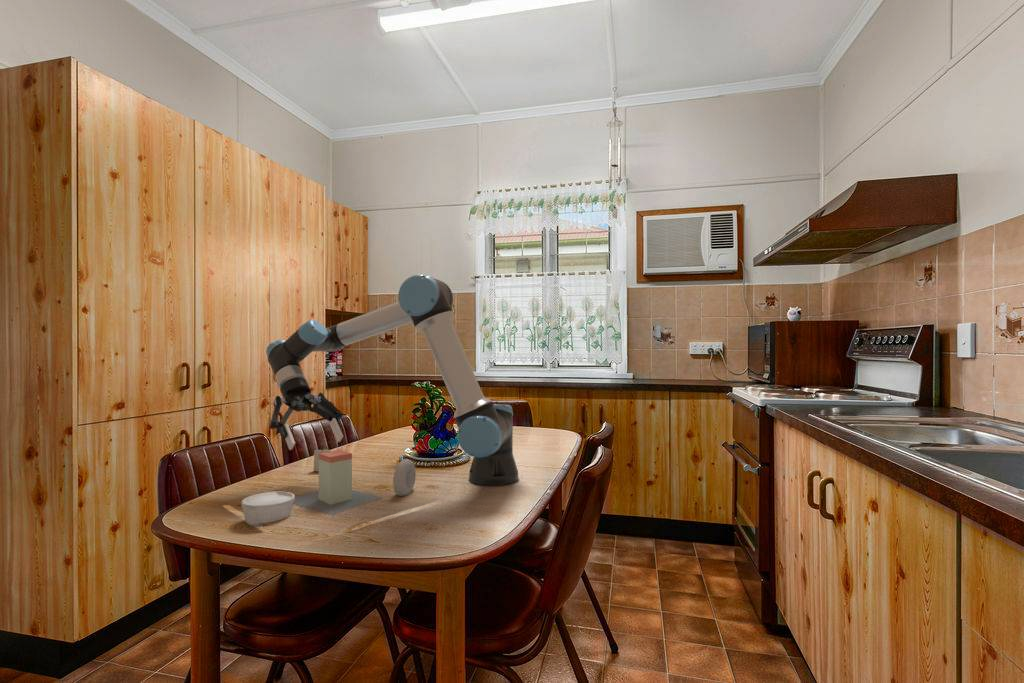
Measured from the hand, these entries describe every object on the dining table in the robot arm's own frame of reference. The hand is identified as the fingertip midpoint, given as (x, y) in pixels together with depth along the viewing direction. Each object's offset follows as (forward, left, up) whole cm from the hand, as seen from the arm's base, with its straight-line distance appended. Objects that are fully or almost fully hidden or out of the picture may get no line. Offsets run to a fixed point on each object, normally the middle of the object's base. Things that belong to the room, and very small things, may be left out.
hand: (317, 442), depth 135 cm
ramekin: (-6, +18, -15) cm, 24 cm away
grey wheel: (-20, -13, -15) cm, 28 cm away
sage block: (-9, +1, -13) cm, 16 cm away
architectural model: (+21, -18, -15) cm, 32 cm away
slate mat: (-8, +1, -14) cm, 17 cm away
